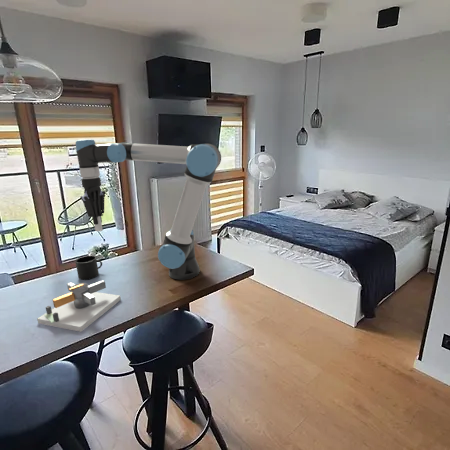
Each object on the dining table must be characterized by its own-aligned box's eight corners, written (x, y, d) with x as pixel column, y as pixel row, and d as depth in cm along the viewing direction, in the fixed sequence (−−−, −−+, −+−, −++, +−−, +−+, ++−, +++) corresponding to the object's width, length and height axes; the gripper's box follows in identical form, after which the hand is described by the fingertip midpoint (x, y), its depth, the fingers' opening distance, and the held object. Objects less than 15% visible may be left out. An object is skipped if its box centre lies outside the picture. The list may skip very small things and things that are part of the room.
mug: (106, 274, 158) (103, 257, 155) (81, 282, 151) (78, 264, 148) (100, 269, 165) (97, 252, 162) (76, 275, 158) (73, 259, 155)
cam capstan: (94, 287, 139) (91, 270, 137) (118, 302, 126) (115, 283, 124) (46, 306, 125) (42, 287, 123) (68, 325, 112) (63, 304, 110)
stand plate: (120, 299, 133) (119, 289, 131) (79, 333, 111) (76, 320, 110) (82, 294, 139) (80, 283, 138) (36, 324, 117) (33, 312, 116)
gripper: (94, 175, 140) (101, 226, 147) (71, 179, 128) (81, 234, 135) (108, 175, 138) (115, 227, 144) (86, 179, 126) (95, 235, 133)
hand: (99, 230), depth 140 cm, fingers closed
